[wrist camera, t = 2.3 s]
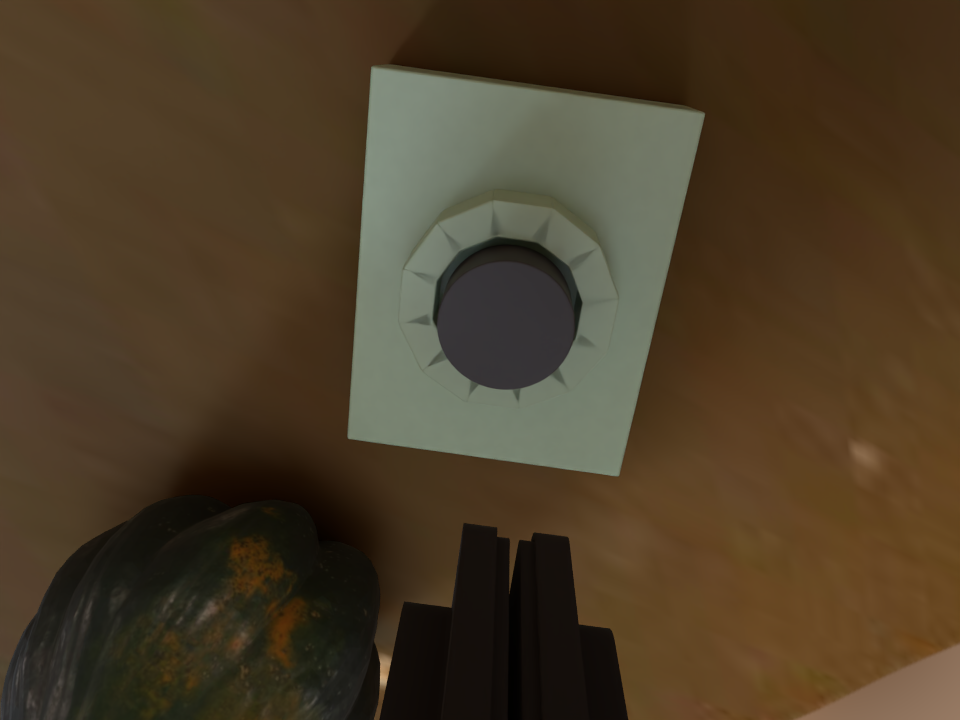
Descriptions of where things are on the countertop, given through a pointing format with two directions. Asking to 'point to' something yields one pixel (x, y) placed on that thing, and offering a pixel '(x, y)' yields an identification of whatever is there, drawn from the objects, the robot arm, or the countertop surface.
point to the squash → (203, 622)
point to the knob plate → (516, 221)
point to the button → (506, 317)
